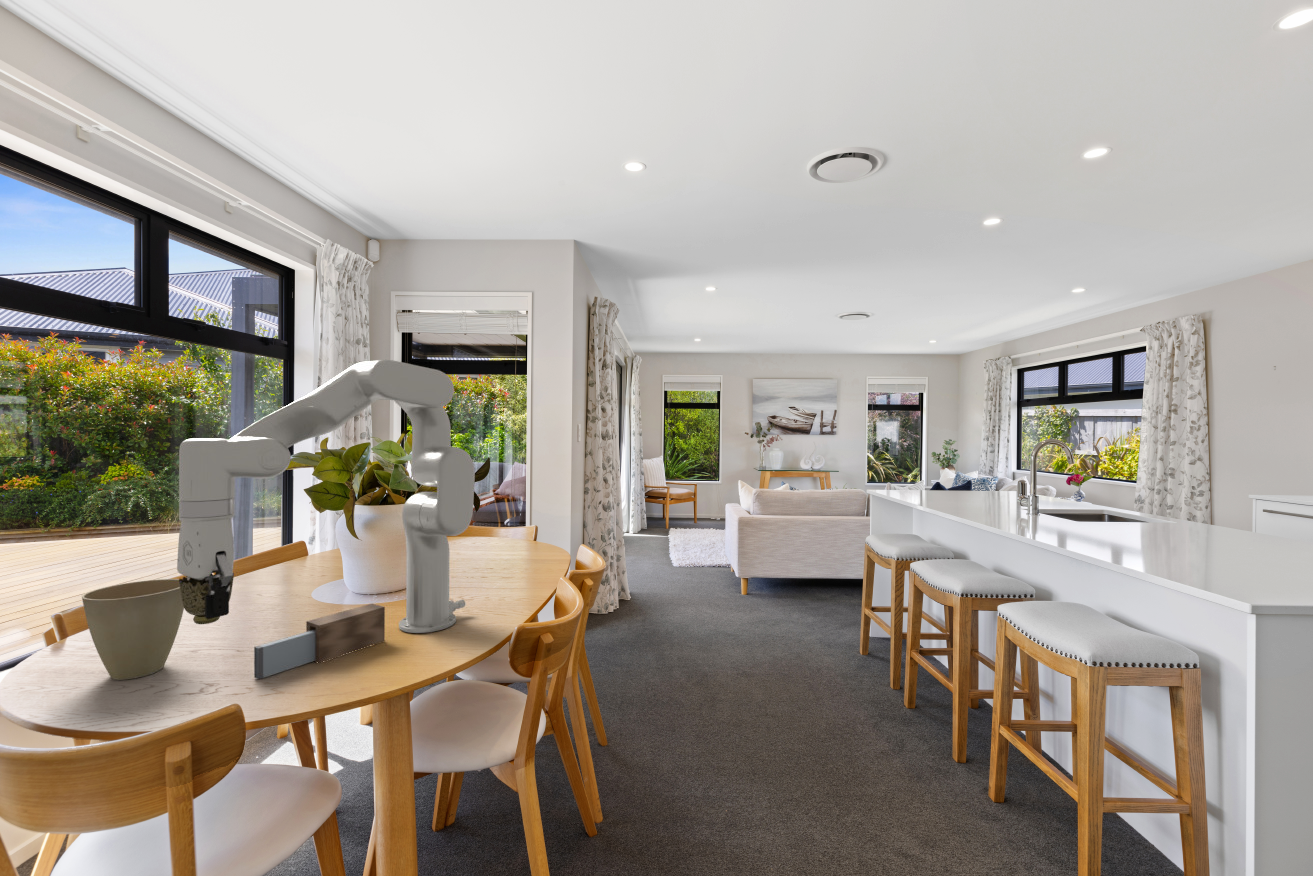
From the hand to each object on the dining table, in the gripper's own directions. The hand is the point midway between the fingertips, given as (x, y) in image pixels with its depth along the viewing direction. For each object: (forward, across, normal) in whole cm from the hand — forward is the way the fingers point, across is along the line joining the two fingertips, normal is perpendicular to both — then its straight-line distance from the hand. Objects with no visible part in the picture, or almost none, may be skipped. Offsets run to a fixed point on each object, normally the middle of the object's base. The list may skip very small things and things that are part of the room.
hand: (207, 611), depth 97 cm
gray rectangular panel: (+15, 0, +15) cm, 21 cm away
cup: (+2, 0, 0) cm, 2 cm away
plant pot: (+15, -23, -2) cm, 28 cm away
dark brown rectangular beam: (+15, 0, +25) cm, 29 cm away
